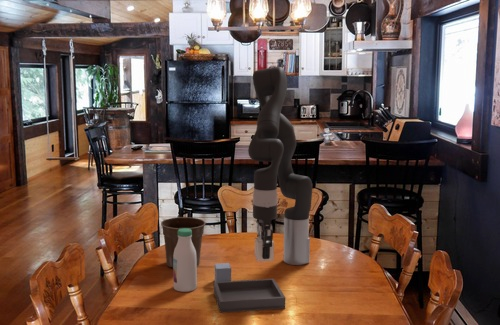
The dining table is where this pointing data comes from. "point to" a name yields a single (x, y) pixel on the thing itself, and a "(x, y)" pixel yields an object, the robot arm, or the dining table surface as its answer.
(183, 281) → the milk bottle
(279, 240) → the dining table surface
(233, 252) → the dining table surface
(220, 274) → the slate blue block
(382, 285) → the dining table surface
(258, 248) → the cream block
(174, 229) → the plant pot
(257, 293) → the dark grey tray
